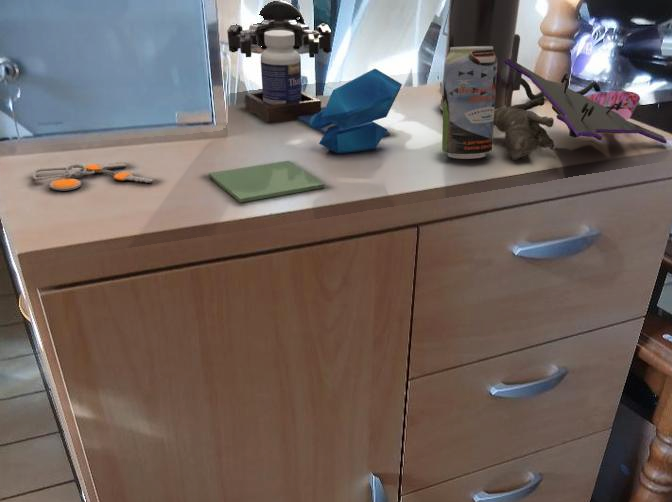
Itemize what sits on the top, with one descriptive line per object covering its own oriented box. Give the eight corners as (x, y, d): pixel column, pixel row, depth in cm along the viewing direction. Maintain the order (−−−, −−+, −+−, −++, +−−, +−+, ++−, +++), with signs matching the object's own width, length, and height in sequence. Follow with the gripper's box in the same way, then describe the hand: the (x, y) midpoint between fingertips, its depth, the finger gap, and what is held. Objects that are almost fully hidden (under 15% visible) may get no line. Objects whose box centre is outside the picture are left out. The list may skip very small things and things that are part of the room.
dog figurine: (535, 135, 98) (480, 146, 98) (535, 87, 94) (477, 99, 94) (563, 165, 89) (502, 177, 89) (564, 114, 85) (500, 127, 85)
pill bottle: (296, 119, 102) (293, 37, 96) (258, 116, 103) (253, 35, 96) (306, 109, 106) (304, 30, 100) (270, 106, 107) (266, 27, 100)
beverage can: (458, 169, 87) (470, 53, 80) (426, 151, 92) (434, 40, 84) (502, 162, 90) (517, 49, 82) (468, 145, 95) (479, 37, 87)
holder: (295, 102, 109) (295, 87, 107) (321, 116, 103) (321, 100, 102) (245, 108, 105) (244, 93, 104) (269, 123, 100) (268, 107, 99)
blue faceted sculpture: (293, 86, 88) (379, 52, 90) (310, 158, 94) (390, 124, 97) (319, 101, 83) (410, 65, 86) (335, 176, 89) (420, 140, 92)
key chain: (30, 193, 78) (28, 185, 78) (33, 170, 84) (31, 163, 83) (154, 186, 81) (153, 178, 81) (149, 164, 87) (148, 157, 86)
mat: (288, 164, 88) (288, 160, 87) (324, 187, 82) (324, 184, 81) (208, 176, 84) (208, 173, 83) (240, 202, 78) (239, 198, 78)
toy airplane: (690, 159, 78) (663, 204, 81) (676, 111, 98) (655, 149, 101) (486, 69, 78) (467, 117, 81) (515, 40, 98) (499, 79, 102)
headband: (642, 122, 97) (651, 106, 96) (624, 106, 95) (632, 89, 94) (587, 124, 106) (595, 109, 106) (569, 109, 104) (577, 94, 103)
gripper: (229, -4, 108) (223, 15, 96) (327, -3, 109) (333, 16, 97) (234, 54, 113) (228, 80, 100) (327, 55, 114) (333, 80, 102)
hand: (280, 48), depth 99 cm, fingers open, 8 cm apart
